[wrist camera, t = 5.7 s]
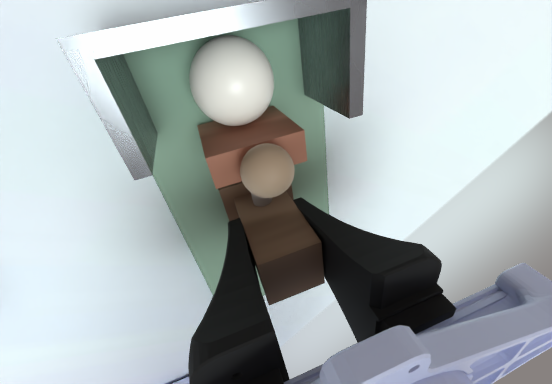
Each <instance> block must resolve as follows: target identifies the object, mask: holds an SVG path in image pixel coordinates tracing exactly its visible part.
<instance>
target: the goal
mask: <svg viewBox="0 0 552 384" xmlns="http://www.w3.org/2000/svg"><path fill="white" fill-rule="evenodd" d="M366 8H367V0H262V1H257V2H252V3H246V4H241V5H235V6H230V7H225V8H219V9H214V10H208V11H203V12H197V13H192V14H187V15H181V16H176V17H170V18H165V19H159V20H154V21H149V22H143V23H138V24H132V25H127V26H121V27H116V28H111V29H105V30H100V31H94V32H89V33H84V34H78V35H73V36H67V37H62V38H56V40H57V42H58V43H59V45H60V47H61V49H62V51H63V52H64V54H65V56H66V58H67V60H68V61H69V63H70V65H71V67H72V69H73V70H74V72H75V74H76V76H77V78H78V79H79V81H80V83H81V85H82V87H83V88H84V90H85V92H86V94H87V96H88V97H89V99H90V101H91V103H92V104H93V106H94V108H95V110H96V112H97V113H98V115H99V117H100V119H101V121H102V122H103V124H104V126H105V128H106V130H107V131H108V133H109V135H110V137H111V139H112V140H113V142H114V144H115V146H116V148H117V149H118V151H119V153H120V155H121V157H122V158H123V160H124V162H125V164H126V166H127V167H128V169H129V171H130V173H131V175H132V176H133V178H134V180H137V179H141V178H144V177H148V176H151V175H152V174H153V166H154V159H155V151H156V144H157V136H158V132H157V130H156V128H155V125H154V123H153V121H152V118H151V116H150V114H149V112H148V109H147V107H146V105H145V103H144V100H143V98H142V96H141V94H140V91H139V89H138V87H137V84H136V82H135V80H134V78H133V75H132V73H131V71H130V69H129V66H128V64H127V62H126V59H125V57H124V55H123V54H124V53H129V52H134V51H139V50H144V49H149V48H154V47H159V46H164V45H169V44H173V43H178V42H183V41H188V40H193V39H198V38H203V37H208V36H213V35H218V34H223V33H228V32H233V31H238V30H243V29H248V28H253V27H257V26H262V25H267V24H272V23H277V22H282V21H287V20H292V19H297V18H298V29H299V40H300V51H301V63H302V74H303V85H304V95H305V96H307V97H309V98H311V99H313V100H315V101H317V102H319V103H321V104H323V105H325V106H327V107H328V108H330V109H332V110H334V111H336V112H338V113H340V114H342V115H344V116H346V117H348V118H349V119H350V118H353V117H357V116H360V115H363V89H364V62H365V35H366Z"/></svg>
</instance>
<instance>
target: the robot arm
mask: <svg viewBox="0 0 552 384" xmlns="http://www.w3.org/2000/svg"><path fill="white" fill-rule="evenodd" d="M293 201H294V203H295V204H296V206H297V208H298V209H299V210H300V212H301V213H302V214H303V216H304V217H305V219H306V220H307V222H308V223H309V225H310V226H311V227H312V229H313V230H314V232H315V233H316V235H317V236H318V238H319V239H320V241H321V243H322V256H323V269H324V277H325V279H326V280H327V282H328V284H329V286H330V288H331V290H332V291H333V293H334V295H335V297H336V299H337V301H338V303H339V305H340V307H341V309H342V311H343V313H344V315H345V317H346V319H347V321H348V323H349V325H350V327H351V329H352V331H353V334H354V335H355V338H356V340H357V342H358V343H357V344H354V345H352V346H350V347H348V348H346V349H344V350H341V351H340V352H338V353H336V354H335V355H333V356H331V357H330V358H329V359H328V360H327V361H326V362H325V363H324V364H322V365H320V366H318V367H316V368H314V369H312V370H310V371H307V372H305V373H303V374H301V375H299V376H297V377H294V378H292V379H289V376H288V373H287V370H286V367H285V363H284V360H283V357H282V353H281V350H280V347H279V344H278V341H277V337H276V334H275V331H274V328H273V325H272V322H271V319H270V316H269V313H268V310H267V308H266V305H265V302H264V299H263V296H262V293H261V288H260V284H259V280H258V275H257V271H256V267H255V263H254V260H253V256H252V253H251V250H250V247H249V243H248V240H247V237H246V234H245V230H244V226H243V224H242V222H241V219H240V218H238V219H235V220H232V221H229V222H228V241H227V249H226V255H225V260H224V264H223V268H222V272H221V276H220V279H219V282H218V285H217V288H216V290H215V293H214V295H213V298H212V300H211V302H210V305H209V307H208V309H207V311H206V313H205V315H204V317H203V319H202V321H201V323H200V325H199V326H198V328H197V330H196V332H195V333H194V335H193V337H192V339H191V345H190V352H189V377H186V378H184V379H182V380H179V381H177V382H175V383H172V384H493V383H494V382H495V381H497V380H499V379H500V378H502V377H504V376H505V375H507V374H508V373H510V372H511V371H513V370H515V369H516V368H518V367H520V366H521V365H523V364H524V363H526V362H528V361H529V360H531V359H532V358H534V357H536V356H538V355H539V354H541V353H542V352H544V351H546V350H548V349H550V348H551V347H552V281H551V280H550V279H548V278H546V277H545V276H543V275H542V274H541V273H539V272H538V271H536V270H535V269H533V268H531V267H530V266H529V265H527V264H526V263H520V264H518V265H516V266H513V267H511V268H509V269H507V270H505V271H503V272H502V273H501V274H500V275H499V276H498V277H497V279H496V282H495V284H494V285H492V286H490V287H487V288H485V289H483V290H481V291H479V292H477V293H475V294H473V295H470V296H468V297H466V298H464V299H462V300H460V301H458V302H455V303H453V304H452V303H451V302H450V301H449V300H448V299H447V298H446V297H445V296H444V295H443V294H442V293H443V289H442V288H441V287H440V286H439V285H438V284H437V281H438V278H439V274H440V272H441V266H442V264H441V261H440V259H438V258H437V257H436V256H435V255H434V254H433V253H432V252H431V251H430V250H429V249H427V248H426V247H425V246H423V245H422V244H417V243H411V242H405V241H400V240H395V239H391V238H387V237H383V236H379V235H376V234H373V233H370V232H367V231H364V230H361V229H358V228H356V227H353V226H351V225H349V224H346V223H344V222H342V221H340V220H338V219H336V218H334V217H332V216H331V215H329V214H327V213H325V212H324V211H322V210H320V209H319V208H317V207H315V206H314V205H312V204H311V203H309V202H308V201H306V200H305V199H303V198H301V197H300V198H297V199H294V200H293Z"/></svg>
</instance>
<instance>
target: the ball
mask: <svg viewBox="0 0 552 384" xmlns="http://www.w3.org/2000/svg"><path fill="white" fill-rule="evenodd" d="M189 83H190V89H191V93H192V95H193V98H194V100H195V102H196V104H197V105H198V107H199V108H200V109H201V110H202V112H203V113H204V114H205V115H207V116H208V117H209V118H211V119H212V120H214V121H216V122H218V123H220V124H223V125H228V126H241V125H245V124H248V123H251V122H253V121H254V120H256V119H257V118H259V117H260V116H261V115H262V114H263V113H264V112H265V110H266V109H267V107H268V106H269V104H270V102H271V99H272V96H273V91H274V76H273V71H272V68H271V65H270V63H269V61H268V59H267V57H266V56H265V54H264V53H263V52H262V50H261V49H260V48H259V47H258V46H256V45H255V44H254V43H252V42H251V41H249V40H247V39H245V38H242V37H239V36H234V35H225V36H219V37H216V38H214V39H212V40H210V41H208V42H207V43H205V44H204V45H203V46H202V47H201V48H200V49H199V50H198V51H197V53H196V55H195V56H194V58H193V61H192V63H191V67H190V73H189Z"/></svg>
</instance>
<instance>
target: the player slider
mask: <svg viewBox="0 0 552 384" xmlns="http://www.w3.org/2000/svg"><path fill="white" fill-rule="evenodd" d="M197 127H198V131H199V135H200V139H201V143H202V147H203V151H204V155H205V159H206V162H207V164H208V167H209V170H210V173H211V176H212V179H213V182H214V184H215V187H216V189H218V190H219V193H220V196H221V198H222V201H223V204H224V207H225V210H226V213H227V216H228V219H229V221H232V220H235V219H238V218H240V219H241V222H242V224H243V226H244V230H245V234H246V237H247V240H248V243H249V247H250V250H251V253H252V256H253V260H254V263H255V266H256V269H257V272H258V275H259V278H260V281H261V283H262V286H263V289H264V292H265V295H266V298H267V301H268V304H269V305H272V304H274V303H276V302H279V301H281V300H284V299H286V298H289V297H291V296H294V295H296V294H299V293H301V292H304V291H306V290H308V289H311V288H313V287H316V286H318V285H321V284H323V283H325V282H324V269H323V256H322V243H321V241H320V239H319V238H318V236H317V235H316V233H315V232H314V230H313V229H312V227H311V226H310V225H309V223H308V222H307V220H306V219H305V217H304V216H303V214H302V213H301V212H300V210H299V209H298V208H297V206H296V204H295V203H294V201H293V200H294V198H293V191H292V184H291V183H292V181H293V178H294V172H295V170H294V165H296V164H299V163H302V162H305V161H307V152H306V141H305V131H304V129H302V128H301V127H300V126H299V125H297V124H296V123H295V122H294V121H292V120H291V119H290V118H288V117H287V116H286V115H285V114H283V113H282V112H281V111H280V110H278V109H277V108H276V107H275V106H270V107H267V109H266V110H265V112H264V113H263V114H262V115H261V116H260V117H259V118H257V119H256V120H254V121H253V122H251V123H248V124H245V125H241V126H228V125H223V124H220V123H218V122H216V121H212V122H208V123H205V124H201V125H197Z"/></svg>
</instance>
